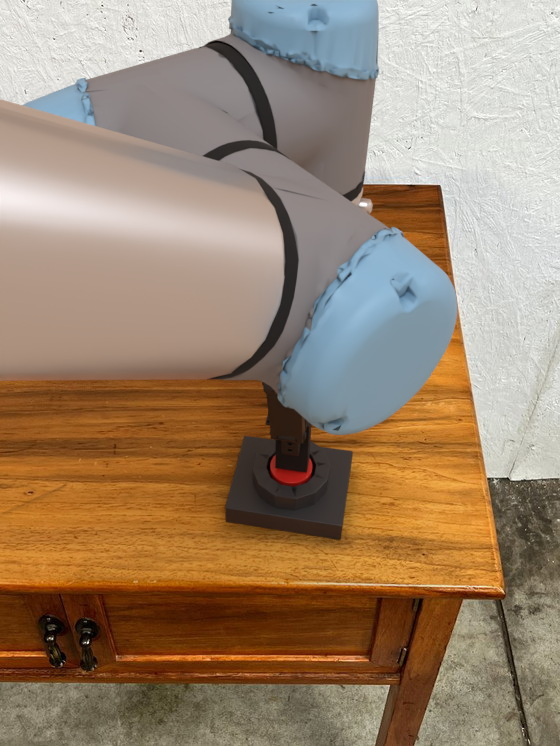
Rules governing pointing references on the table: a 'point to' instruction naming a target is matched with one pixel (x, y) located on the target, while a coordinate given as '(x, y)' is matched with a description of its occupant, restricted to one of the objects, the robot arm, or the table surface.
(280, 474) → the button
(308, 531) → the control block
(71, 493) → the table surface
